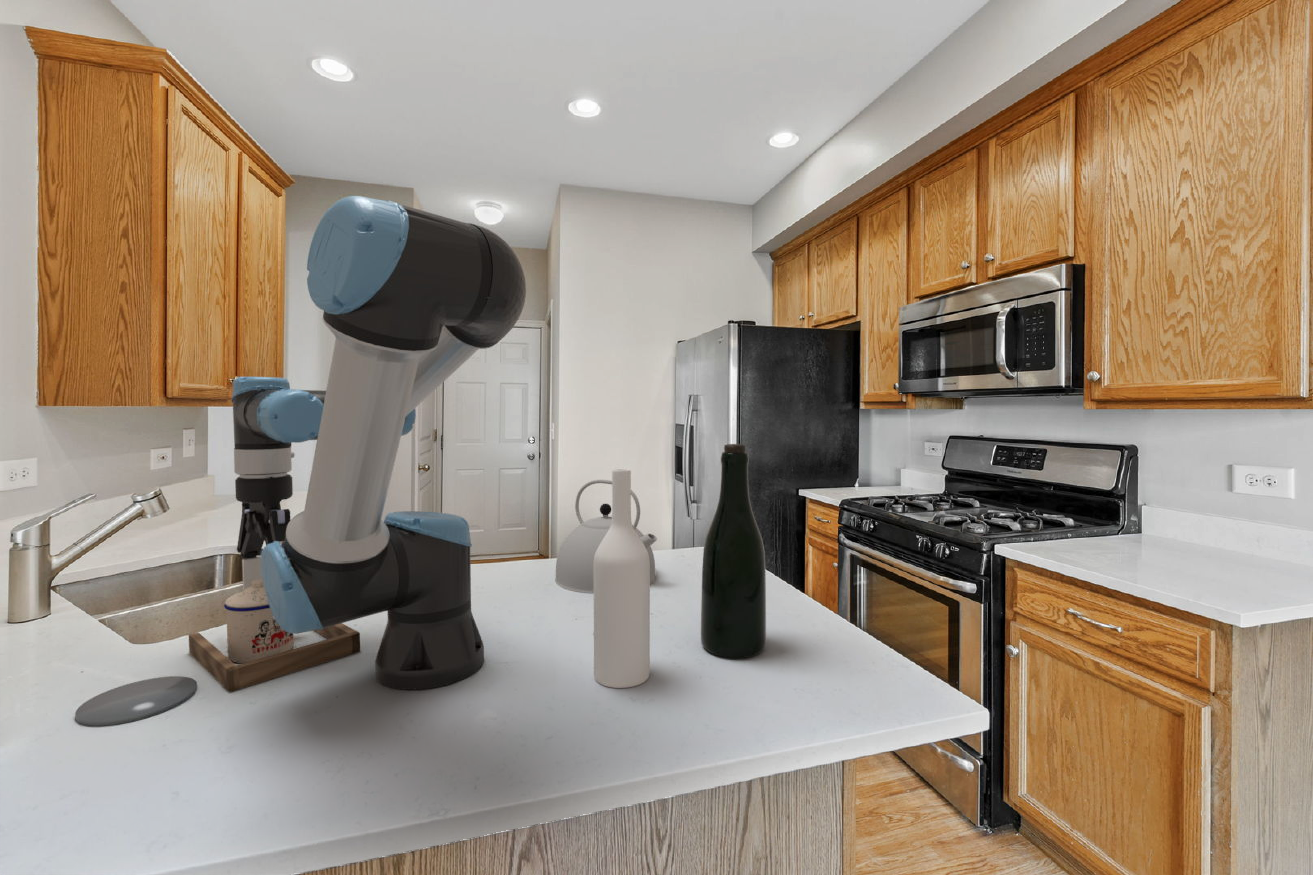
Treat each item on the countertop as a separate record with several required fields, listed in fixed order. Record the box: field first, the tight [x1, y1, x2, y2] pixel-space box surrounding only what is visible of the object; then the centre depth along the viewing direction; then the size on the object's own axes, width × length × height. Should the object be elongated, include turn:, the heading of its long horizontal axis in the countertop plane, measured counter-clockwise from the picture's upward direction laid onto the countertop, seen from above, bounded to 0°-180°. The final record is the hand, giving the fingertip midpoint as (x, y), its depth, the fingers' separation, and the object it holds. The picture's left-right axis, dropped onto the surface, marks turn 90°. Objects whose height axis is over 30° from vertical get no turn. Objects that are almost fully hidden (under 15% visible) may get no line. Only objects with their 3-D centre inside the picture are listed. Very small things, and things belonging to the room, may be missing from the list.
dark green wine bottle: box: [700, 443, 767, 659], centre depth 94 cm, size 10×10×33 cm
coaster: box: [74, 675, 198, 727], centre depth 77 cm, size 12×12×1 cm
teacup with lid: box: [223, 579, 295, 664], centre depth 94 cm, size 12×9×12 cm
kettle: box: [554, 479, 658, 595], centre depth 132 cm, size 25×23×22 cm
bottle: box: [593, 468, 651, 689], centre depth 84 cm, size 8×8×30 cm
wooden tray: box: [188, 623, 361, 693], centre depth 93 cm, size 20×17×3 cm
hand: (267, 606), depth 94 cm, fingers open, 13 cm apart
